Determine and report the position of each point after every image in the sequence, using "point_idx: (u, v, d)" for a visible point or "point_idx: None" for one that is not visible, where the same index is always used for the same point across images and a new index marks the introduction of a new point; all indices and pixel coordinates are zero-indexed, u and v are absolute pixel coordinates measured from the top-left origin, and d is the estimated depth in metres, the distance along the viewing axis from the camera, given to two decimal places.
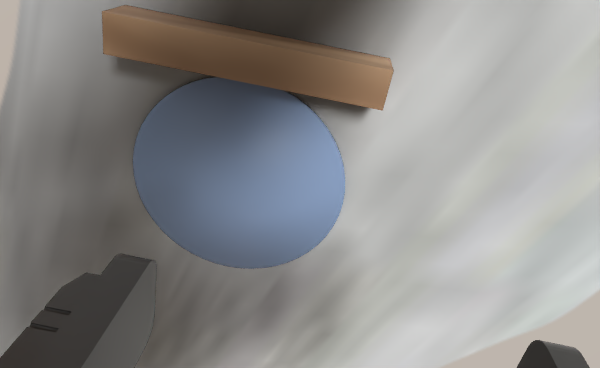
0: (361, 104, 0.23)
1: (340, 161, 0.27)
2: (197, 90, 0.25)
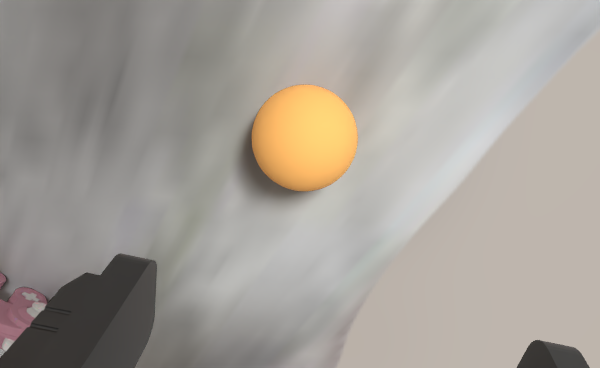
0: None
1: None
2: None
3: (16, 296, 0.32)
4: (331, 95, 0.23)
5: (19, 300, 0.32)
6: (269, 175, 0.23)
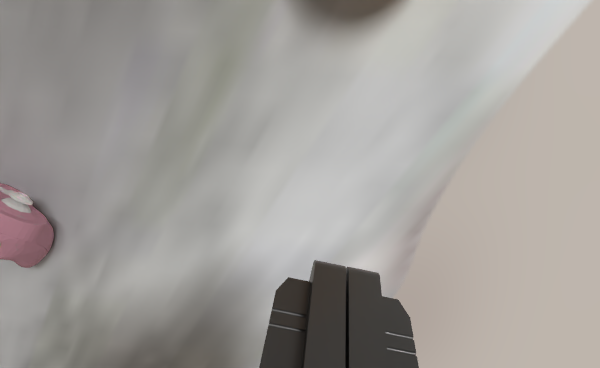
0: None
1: None
2: None
3: None
4: None
5: None
6: None
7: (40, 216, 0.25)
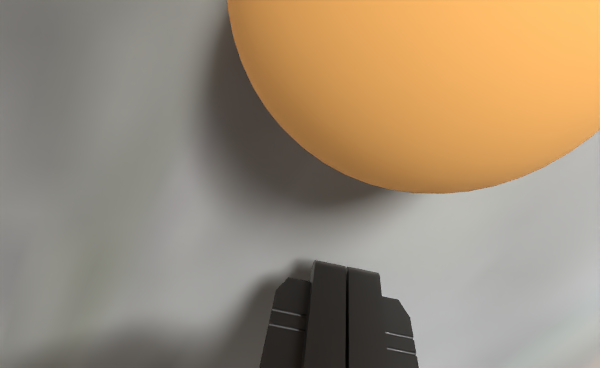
0: None
1: None
2: None
3: None
4: None
5: None
6: (301, 125, 0.05)
7: None
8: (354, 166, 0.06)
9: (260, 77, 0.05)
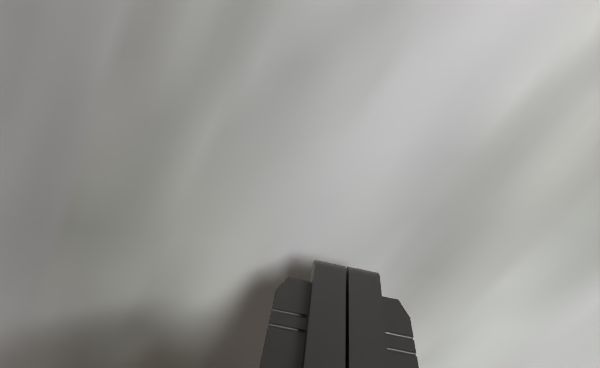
0: None
1: None
2: None
3: None
4: None
5: None
6: None
7: None
8: None
9: None
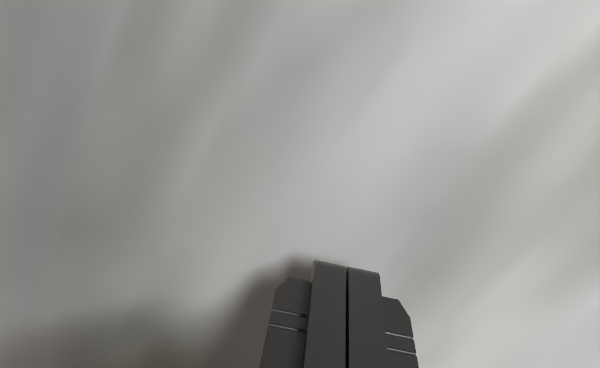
0: None
1: None
2: None
3: None
4: None
5: None
6: None
7: None
8: None
9: None
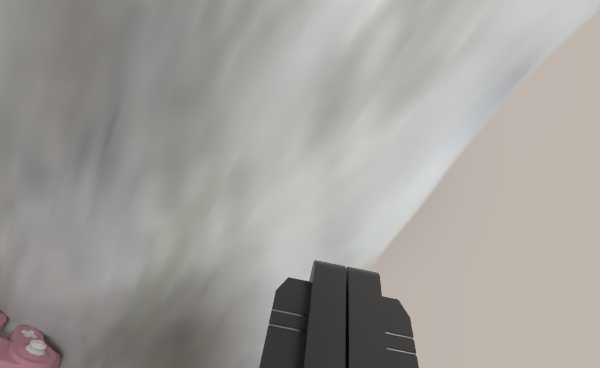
0: None
1: None
2: None
3: (16, 335, 0.36)
4: None
5: (18, 338, 0.36)
6: None
7: (51, 353, 0.36)
8: None
9: None
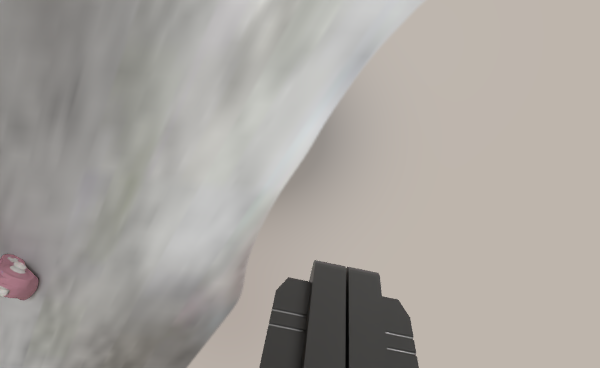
0: None
1: None
2: None
3: (3, 259, 0.47)
4: None
5: (4, 261, 0.46)
6: None
7: (30, 274, 0.47)
8: None
9: None
